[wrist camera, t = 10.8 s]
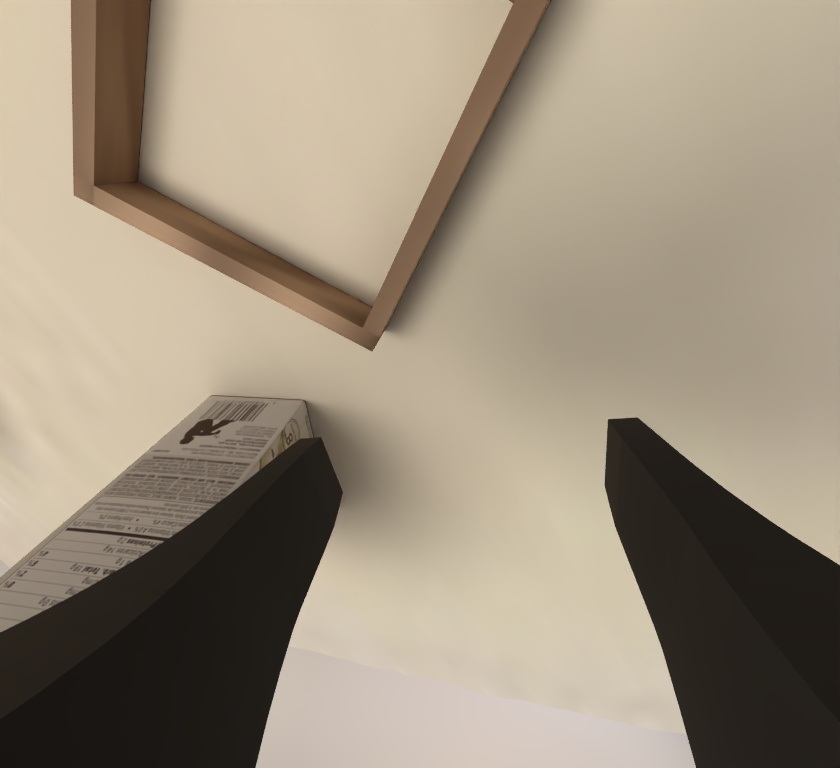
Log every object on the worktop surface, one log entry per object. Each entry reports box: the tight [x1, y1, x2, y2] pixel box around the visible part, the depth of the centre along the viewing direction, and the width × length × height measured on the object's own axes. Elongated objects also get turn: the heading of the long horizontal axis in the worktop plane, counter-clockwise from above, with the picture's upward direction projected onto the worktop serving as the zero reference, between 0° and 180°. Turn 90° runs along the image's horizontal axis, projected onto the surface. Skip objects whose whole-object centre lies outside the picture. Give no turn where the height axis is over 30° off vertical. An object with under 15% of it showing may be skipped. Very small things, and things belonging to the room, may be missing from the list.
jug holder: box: [71, 0, 550, 351], centre depth 14 cm, size 13×13×2 cm
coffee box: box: [0, 396, 313, 632], centre depth 18 cm, size 9×6×16 cm
